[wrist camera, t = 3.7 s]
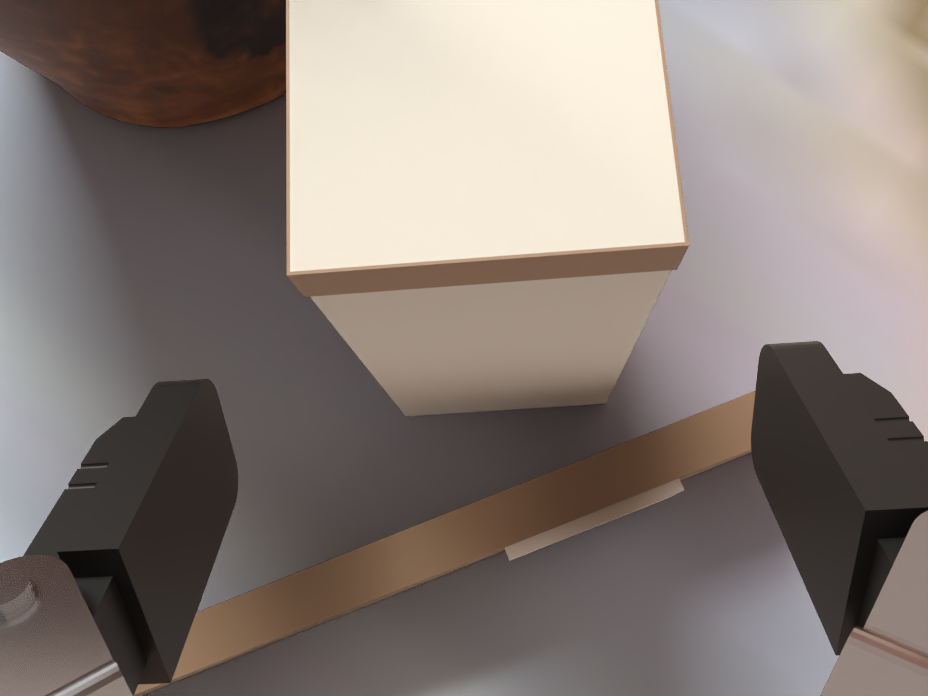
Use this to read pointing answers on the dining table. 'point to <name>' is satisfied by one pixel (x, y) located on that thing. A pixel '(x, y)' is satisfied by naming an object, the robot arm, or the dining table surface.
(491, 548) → the rail
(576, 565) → the dining table surface
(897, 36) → the dining table surface
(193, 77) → the brown round rimmed container
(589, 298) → the sugar carton
